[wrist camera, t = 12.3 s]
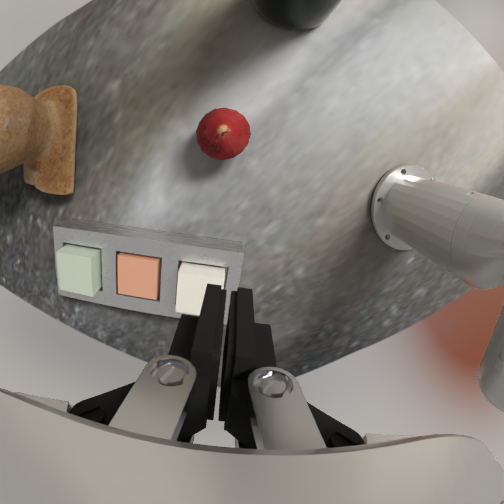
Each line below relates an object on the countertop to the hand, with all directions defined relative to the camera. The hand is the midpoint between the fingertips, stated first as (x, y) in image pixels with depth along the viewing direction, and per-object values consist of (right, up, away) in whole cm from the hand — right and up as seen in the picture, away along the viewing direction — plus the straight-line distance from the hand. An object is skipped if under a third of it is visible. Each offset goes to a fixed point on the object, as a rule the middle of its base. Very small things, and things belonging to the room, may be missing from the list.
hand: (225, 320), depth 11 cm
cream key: (-5, -1, +25) cm, 25 cm away
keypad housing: (-13, +1, +27) cm, 30 cm away
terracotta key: (-13, 0, +26) cm, 29 cm away
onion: (-2, +17, +22) cm, 28 cm away
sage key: (-21, +1, +23) cm, 31 cm away
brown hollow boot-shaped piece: (-27, +18, +20) cm, 38 cm away
